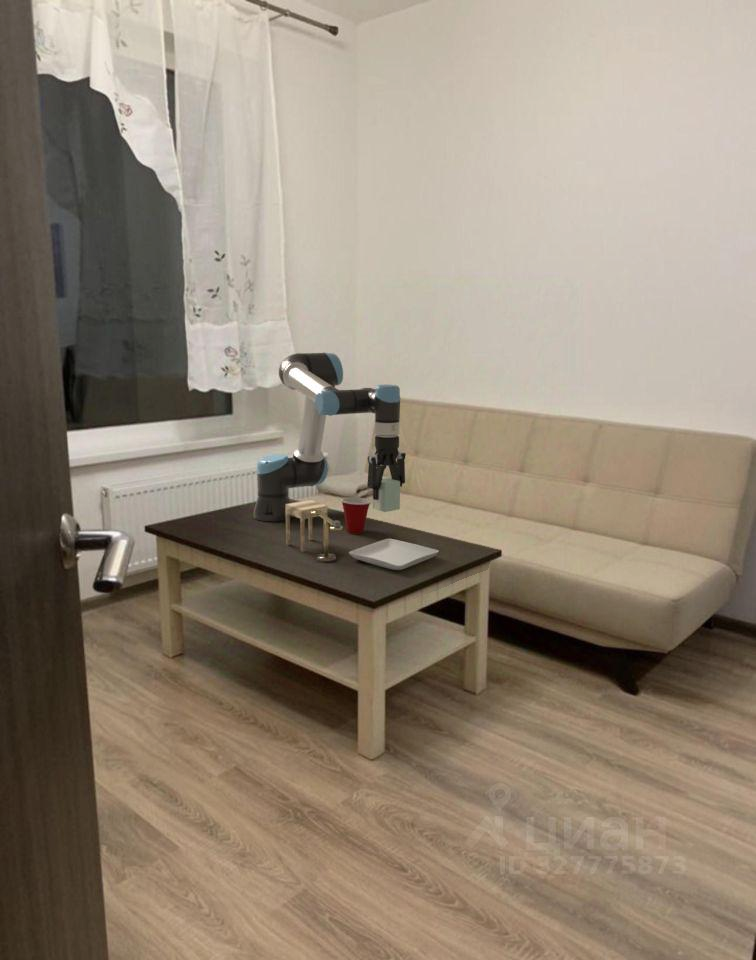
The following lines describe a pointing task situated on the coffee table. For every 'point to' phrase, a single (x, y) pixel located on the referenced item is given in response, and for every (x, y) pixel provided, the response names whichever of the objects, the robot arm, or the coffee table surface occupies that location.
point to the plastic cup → (355, 513)
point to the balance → (336, 527)
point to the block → (390, 494)
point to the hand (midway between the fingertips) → (386, 507)
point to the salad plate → (393, 554)
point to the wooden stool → (304, 512)
